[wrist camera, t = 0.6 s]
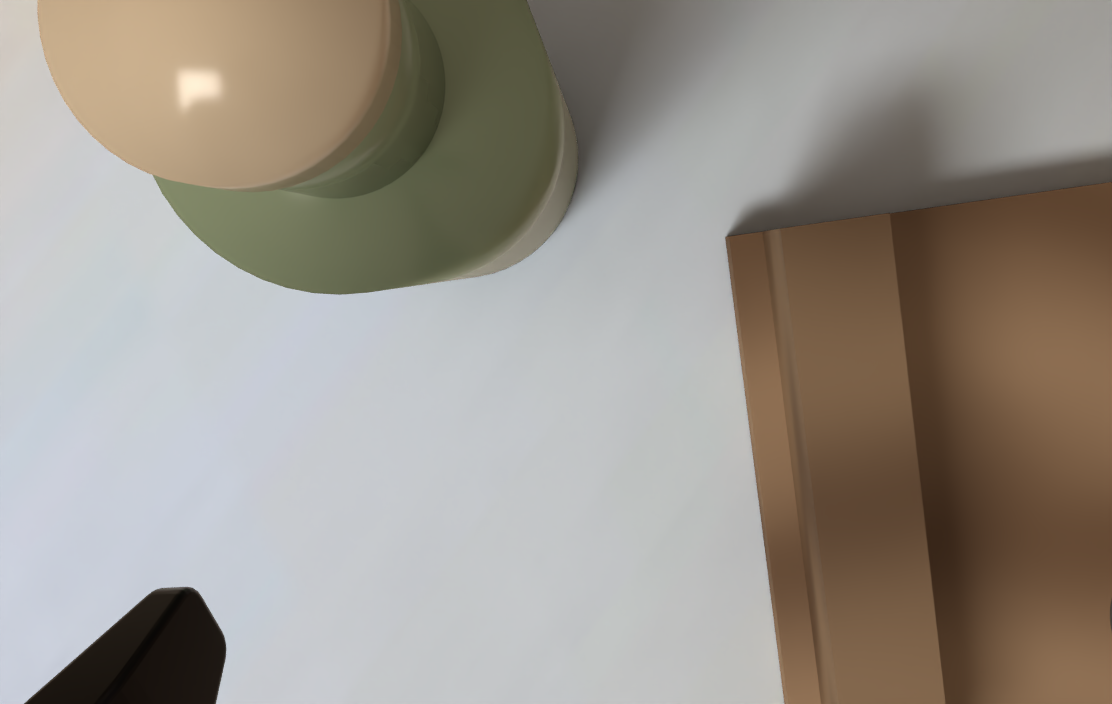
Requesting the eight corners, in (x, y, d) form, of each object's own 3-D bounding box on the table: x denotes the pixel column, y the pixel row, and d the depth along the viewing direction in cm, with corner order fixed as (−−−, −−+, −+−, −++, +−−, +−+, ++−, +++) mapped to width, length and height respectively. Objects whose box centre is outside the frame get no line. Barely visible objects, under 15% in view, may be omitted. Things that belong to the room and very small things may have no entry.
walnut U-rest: (1408, 876, 23) (1538, 980, 20) (813, 930, 24) (843, 1037, 21) (1351, 147, 22) (1482, 128, 18) (724, 237, 23) (742, 234, 19)
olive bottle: (593, 260, 23) (545, 267, 9) (363, 292, 23) (-25, 347, 9) (560, 20, 22) (457, -361, 9) (326, 57, 23) (-135, -249, 9)
